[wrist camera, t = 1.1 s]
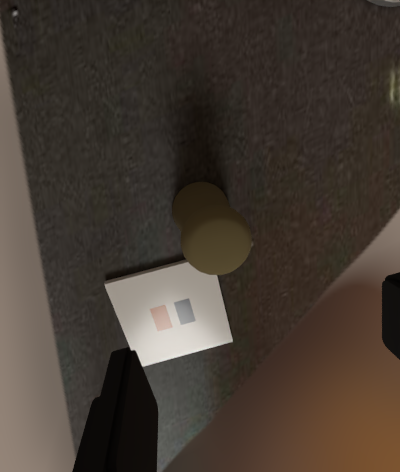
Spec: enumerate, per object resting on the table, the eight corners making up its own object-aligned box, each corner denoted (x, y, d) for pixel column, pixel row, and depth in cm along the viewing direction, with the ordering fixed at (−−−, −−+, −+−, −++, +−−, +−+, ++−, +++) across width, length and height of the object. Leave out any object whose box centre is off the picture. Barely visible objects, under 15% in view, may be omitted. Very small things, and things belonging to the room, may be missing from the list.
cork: (162, 196, 28) (160, 228, 18) (216, 171, 28) (246, 189, 17) (186, 246, 30) (197, 301, 20) (236, 223, 30) (274, 267, 19)
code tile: (211, 252, 31) (212, 255, 30) (231, 337, 35) (233, 341, 34) (105, 280, 30) (104, 284, 29) (139, 362, 34) (138, 368, 33)
